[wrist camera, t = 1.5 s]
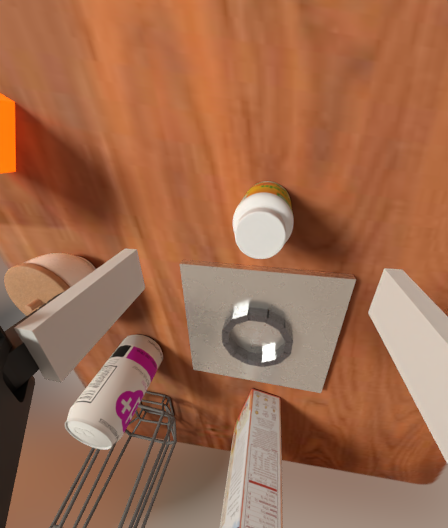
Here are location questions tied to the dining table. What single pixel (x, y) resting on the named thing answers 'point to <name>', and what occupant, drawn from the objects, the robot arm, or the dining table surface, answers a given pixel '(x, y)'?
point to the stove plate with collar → (264, 321)
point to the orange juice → (7, 135)
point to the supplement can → (114, 393)
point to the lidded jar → (44, 279)
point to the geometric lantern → (171, 423)
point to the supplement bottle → (263, 220)
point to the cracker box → (255, 466)
